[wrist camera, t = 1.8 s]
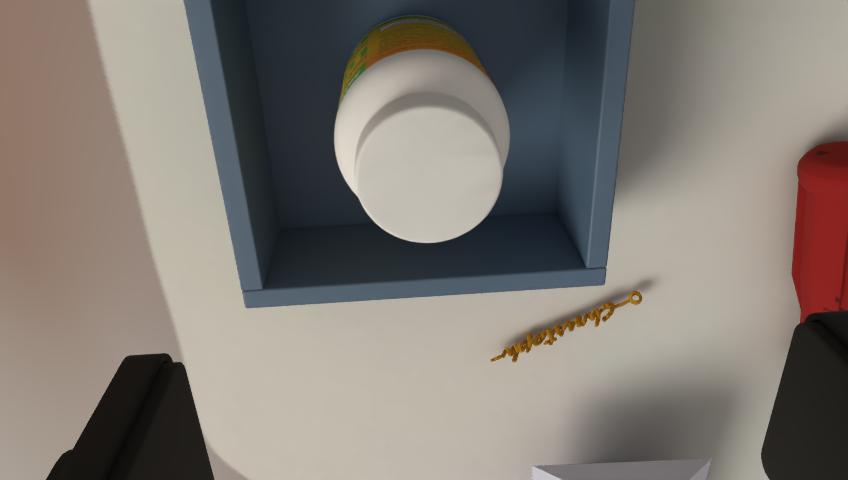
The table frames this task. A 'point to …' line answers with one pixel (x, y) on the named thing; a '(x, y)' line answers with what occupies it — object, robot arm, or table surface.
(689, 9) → the table surface
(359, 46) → the supplement bottle
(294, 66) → the storage bin
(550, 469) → the wedge on round base
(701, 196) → the table surface
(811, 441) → the robot arm
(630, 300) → the keychain
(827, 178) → the screwdriver
